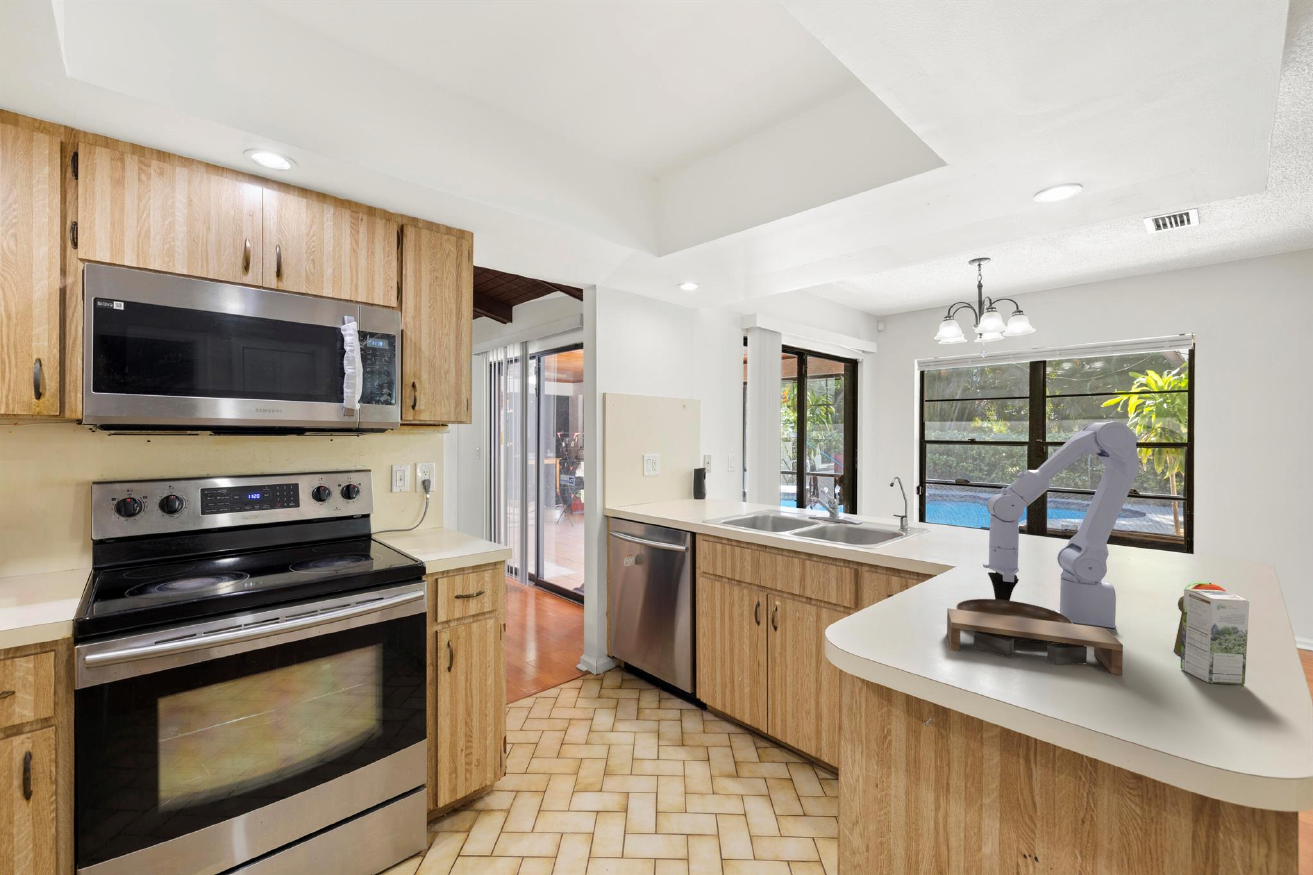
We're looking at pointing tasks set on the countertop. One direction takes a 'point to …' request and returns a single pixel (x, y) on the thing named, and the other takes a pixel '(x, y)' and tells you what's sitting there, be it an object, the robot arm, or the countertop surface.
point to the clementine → (1206, 586)
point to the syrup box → (1214, 636)
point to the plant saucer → (1013, 612)
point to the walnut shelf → (1036, 637)
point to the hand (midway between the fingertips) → (1002, 605)
